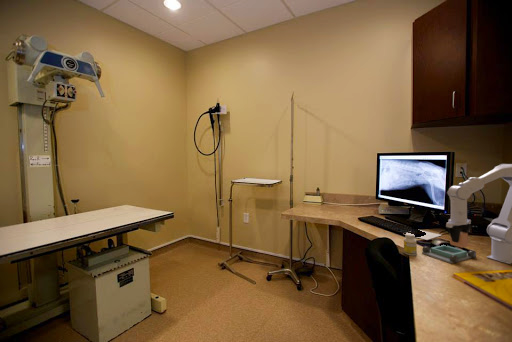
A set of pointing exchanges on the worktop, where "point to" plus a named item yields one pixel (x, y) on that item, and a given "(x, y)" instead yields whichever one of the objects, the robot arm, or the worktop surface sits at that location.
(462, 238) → the block
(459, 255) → the chassis
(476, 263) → the worktop surface
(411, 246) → the supplement bottle
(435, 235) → the paper stack
